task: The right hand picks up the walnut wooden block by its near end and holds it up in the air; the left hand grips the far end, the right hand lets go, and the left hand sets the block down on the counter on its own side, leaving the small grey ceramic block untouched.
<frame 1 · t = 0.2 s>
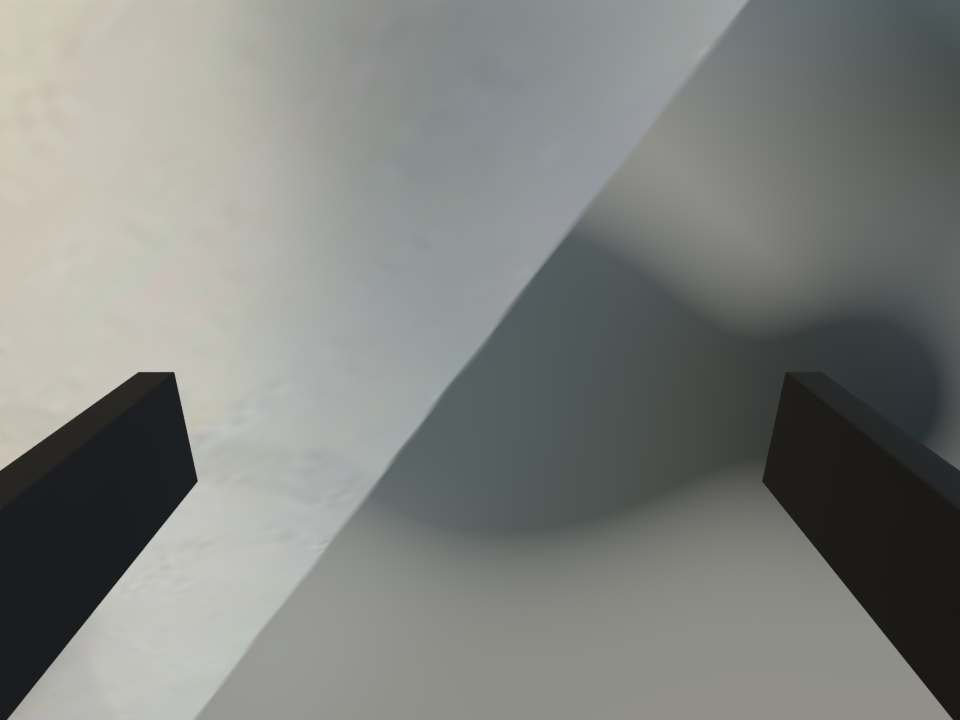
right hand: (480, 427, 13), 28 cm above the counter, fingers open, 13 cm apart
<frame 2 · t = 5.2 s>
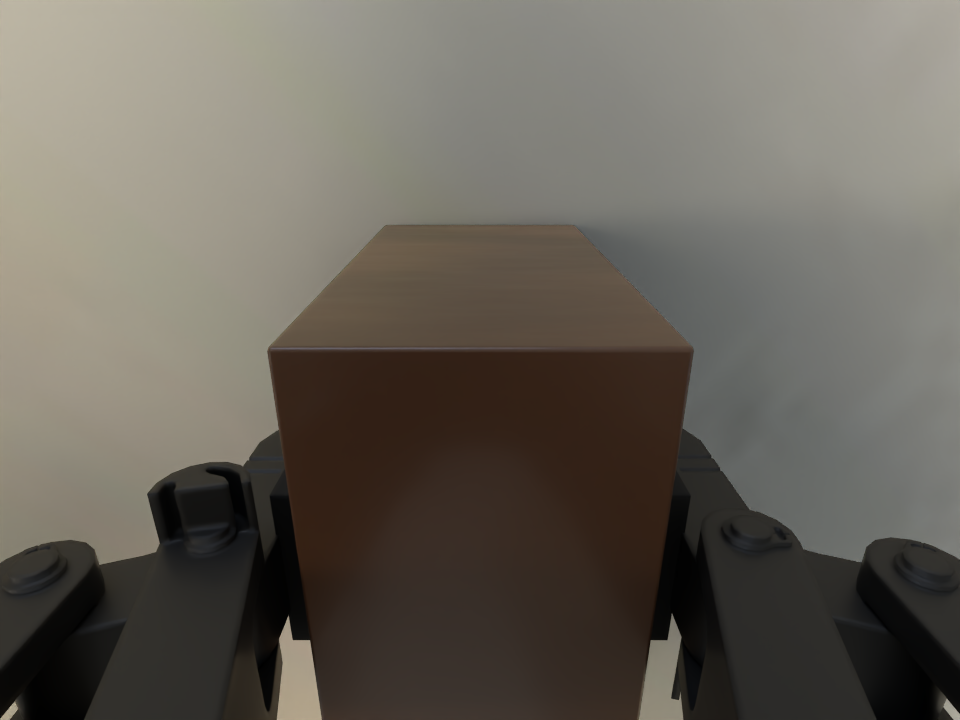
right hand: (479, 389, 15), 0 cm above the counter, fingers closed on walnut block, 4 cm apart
walnut block: (479, 643, 18), on the counter, touching right hand
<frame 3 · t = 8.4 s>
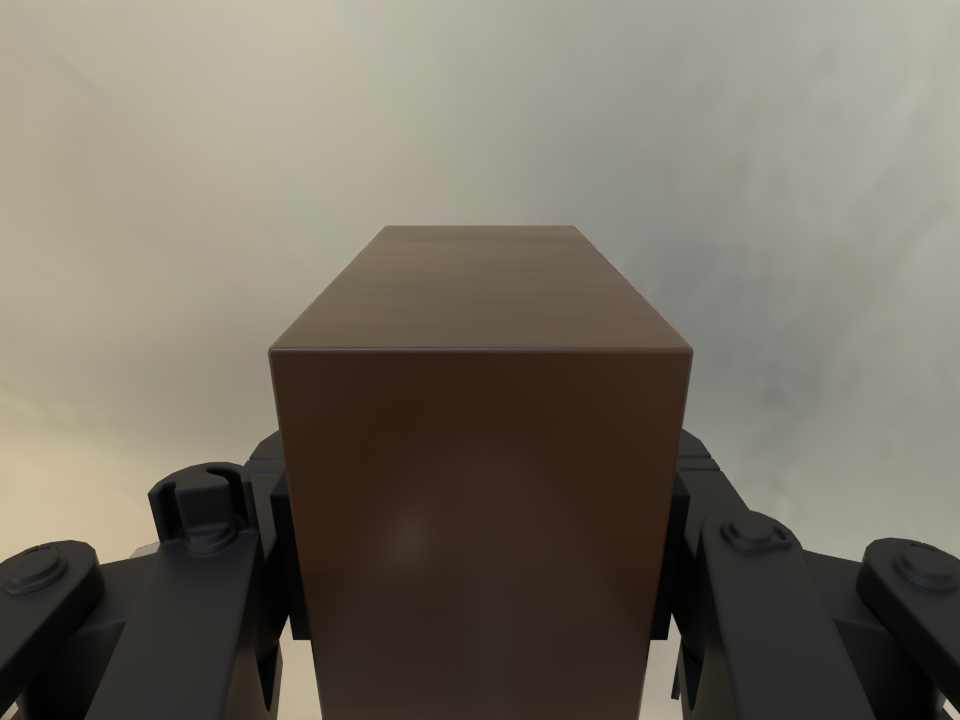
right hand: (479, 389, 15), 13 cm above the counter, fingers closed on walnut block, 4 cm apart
walnut block: (479, 643, 18), point 12 cm above the counter, touching right hand
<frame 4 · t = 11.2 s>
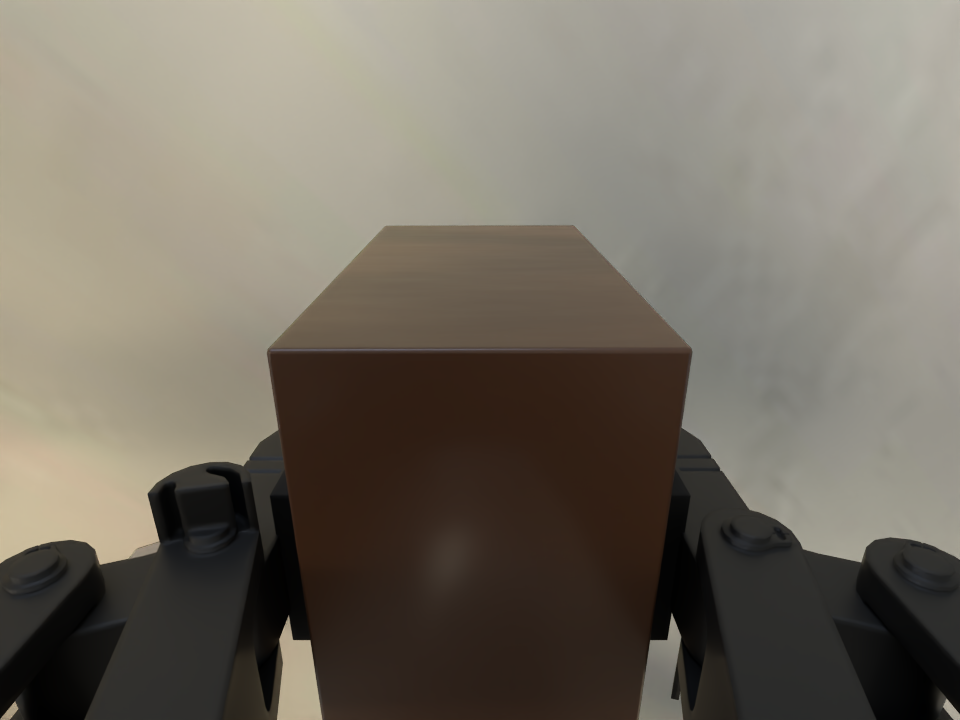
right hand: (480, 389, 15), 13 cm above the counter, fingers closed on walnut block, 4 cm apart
walnut block: (480, 642, 18), point 12 cm above the counter, touching right hand, left hand
when the right hand's fingers open (13 cm above the counter, at t = 11.9 s): walnut block stays where it is, held by the left hand.
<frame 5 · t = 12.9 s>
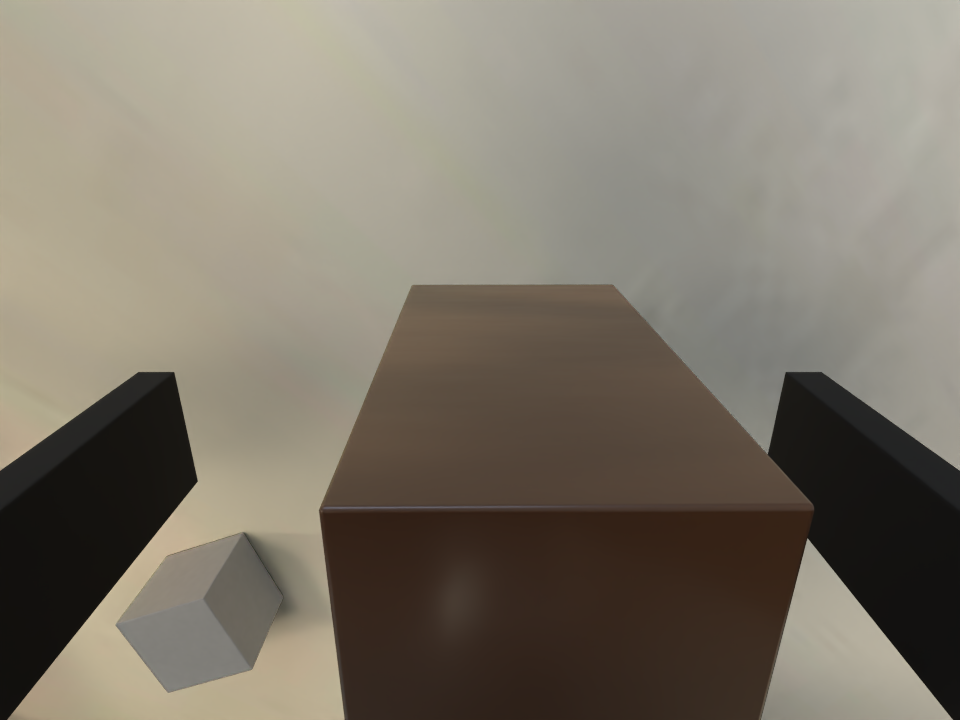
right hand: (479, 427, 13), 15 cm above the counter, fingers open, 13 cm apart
grey ceramic block: (226, 576, 34), on the counter
walnut block: (503, 708, 17), point 14 cm above the counter, touching left hand
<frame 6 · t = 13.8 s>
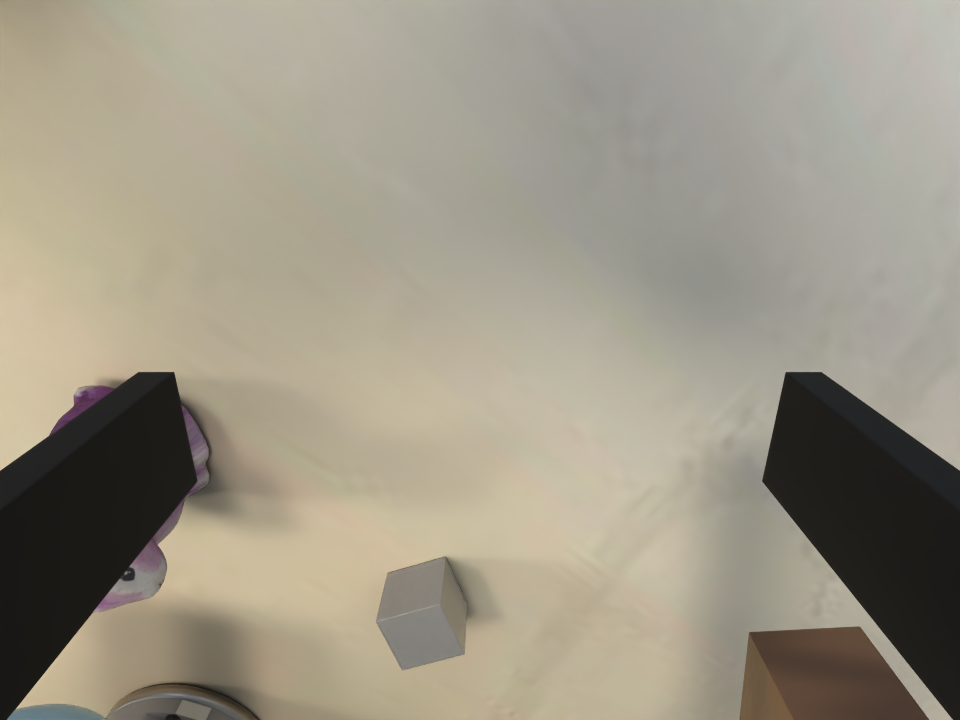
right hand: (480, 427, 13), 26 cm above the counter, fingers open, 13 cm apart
grey ceramic block: (427, 588, 46), on the counter
figurine: (163, 443, 42), on the counter
when the left hand's fingers open (9 cm above the counter, at t = 16.7 s): walnut block drops 8 cm, on the counter.
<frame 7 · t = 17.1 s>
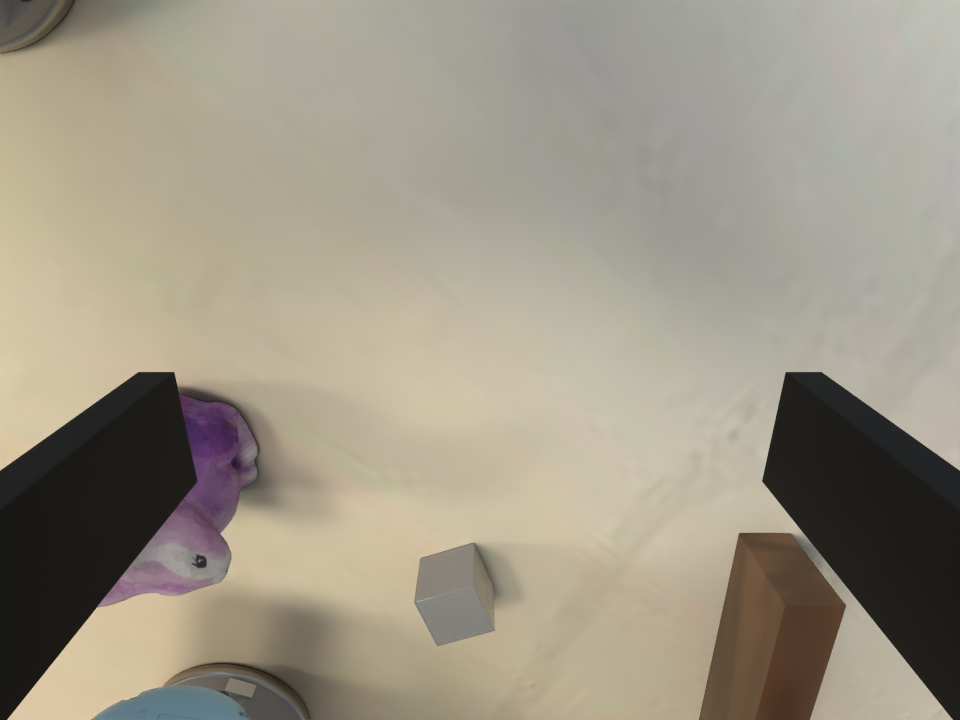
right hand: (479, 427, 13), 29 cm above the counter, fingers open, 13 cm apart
grey ceramic block: (457, 572, 50), on the counter
figurine: (215, 442, 46), on the counter
walnut block: (738, 646, 54), on the counter
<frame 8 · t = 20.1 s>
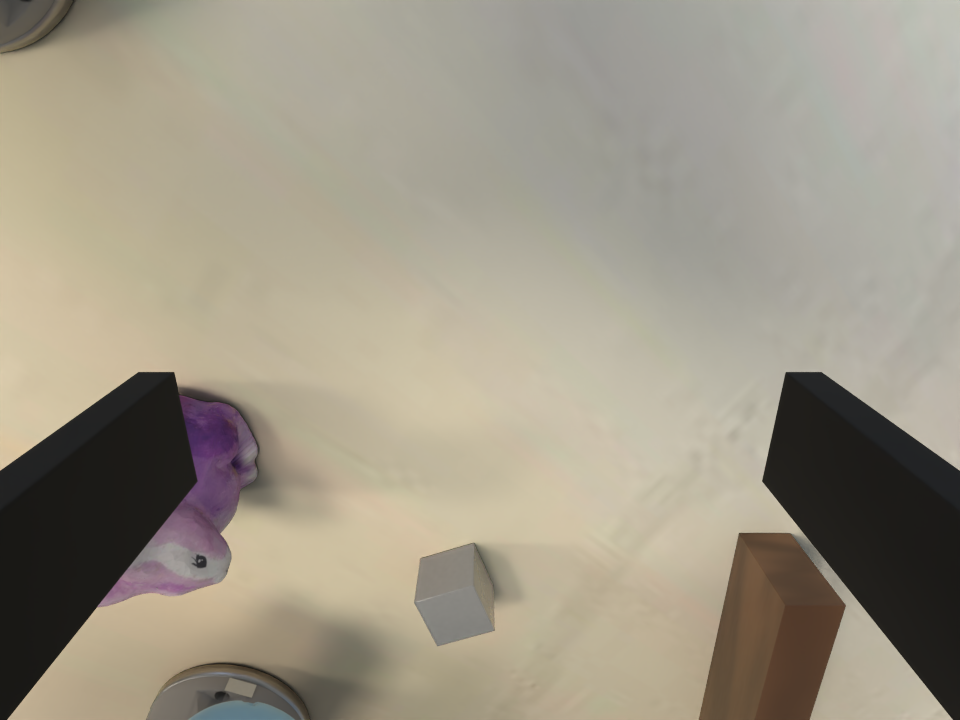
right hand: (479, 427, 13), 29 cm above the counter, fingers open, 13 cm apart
grey ceramic block: (457, 572, 50), on the counter
figurine: (215, 442, 46), on the counter
walnut block: (738, 646, 54), on the counter
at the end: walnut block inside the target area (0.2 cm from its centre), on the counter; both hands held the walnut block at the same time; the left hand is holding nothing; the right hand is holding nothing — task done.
